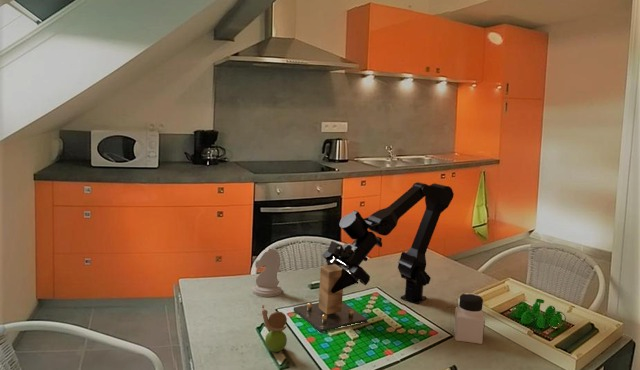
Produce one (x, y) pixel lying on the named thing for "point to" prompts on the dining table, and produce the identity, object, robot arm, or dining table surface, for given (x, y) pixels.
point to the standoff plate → (329, 316)
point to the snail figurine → (275, 330)
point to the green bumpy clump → (549, 313)
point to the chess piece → (268, 275)
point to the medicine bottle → (469, 319)
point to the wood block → (327, 280)
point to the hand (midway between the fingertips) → (327, 289)
